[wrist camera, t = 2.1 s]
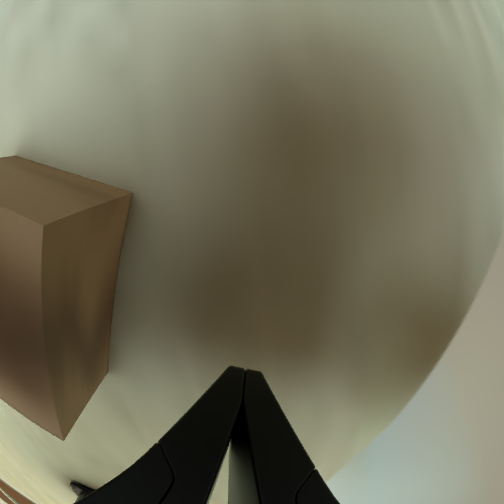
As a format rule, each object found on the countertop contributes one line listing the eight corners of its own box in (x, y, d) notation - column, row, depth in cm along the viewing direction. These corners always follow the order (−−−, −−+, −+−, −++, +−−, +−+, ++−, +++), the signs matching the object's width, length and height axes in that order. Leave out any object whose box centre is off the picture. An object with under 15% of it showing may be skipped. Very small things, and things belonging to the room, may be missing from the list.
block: (109, 369, 11) (63, 441, 7) (14, 316, 11) (-40, 362, 7) (135, 192, 9) (43, 225, 5) (18, 155, 9) (-68, 169, 4)
